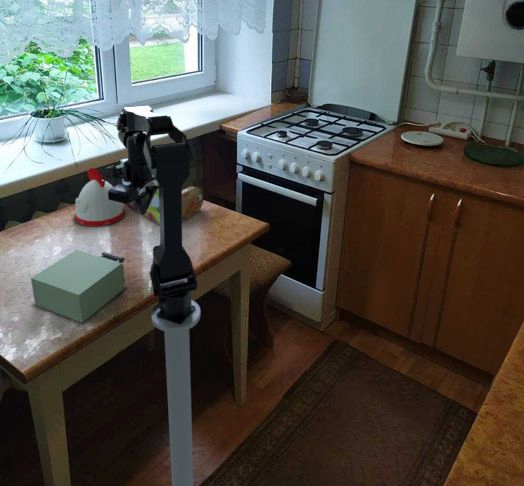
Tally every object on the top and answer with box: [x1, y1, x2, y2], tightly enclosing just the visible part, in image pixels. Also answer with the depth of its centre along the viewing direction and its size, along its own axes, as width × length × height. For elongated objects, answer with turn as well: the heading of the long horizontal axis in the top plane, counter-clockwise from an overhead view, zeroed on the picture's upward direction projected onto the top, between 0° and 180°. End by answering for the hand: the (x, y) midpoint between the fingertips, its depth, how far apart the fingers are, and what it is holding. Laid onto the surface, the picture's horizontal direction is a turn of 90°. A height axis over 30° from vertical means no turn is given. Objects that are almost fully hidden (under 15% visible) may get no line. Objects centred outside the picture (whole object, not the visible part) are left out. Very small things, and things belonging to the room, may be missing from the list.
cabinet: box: [30, 249, 125, 323], centre depth 112 cm, size 14×14×7 cm
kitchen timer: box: [75, 167, 125, 227], centre depth 149 cm, size 14×14×15 cm
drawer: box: [81, 250, 125, 285], centre depth 116 cm, size 17×12×5 cm
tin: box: [182, 186, 205, 222], centre depth 152 cm, size 15×3×8 cm, turn 148°
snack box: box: [120, 157, 160, 226], centre depth 152 cm, size 21×6×15 cm, turn 45°
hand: (143, 213), depth 127 cm, fingers closed
